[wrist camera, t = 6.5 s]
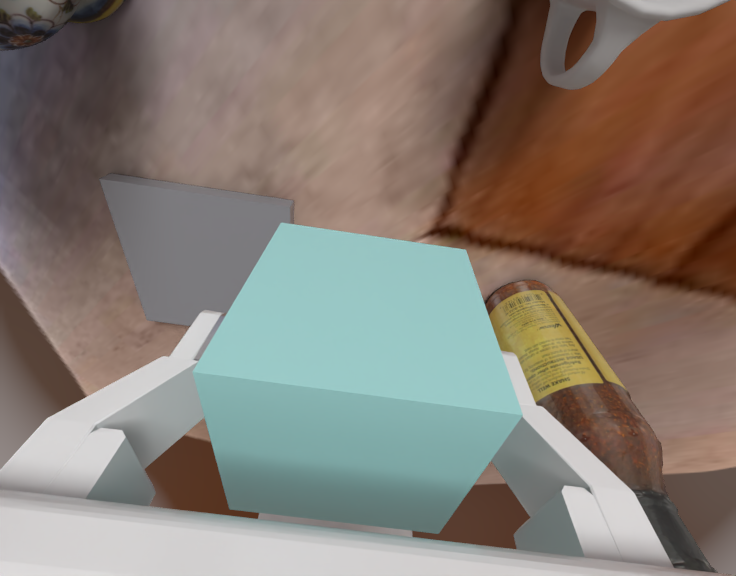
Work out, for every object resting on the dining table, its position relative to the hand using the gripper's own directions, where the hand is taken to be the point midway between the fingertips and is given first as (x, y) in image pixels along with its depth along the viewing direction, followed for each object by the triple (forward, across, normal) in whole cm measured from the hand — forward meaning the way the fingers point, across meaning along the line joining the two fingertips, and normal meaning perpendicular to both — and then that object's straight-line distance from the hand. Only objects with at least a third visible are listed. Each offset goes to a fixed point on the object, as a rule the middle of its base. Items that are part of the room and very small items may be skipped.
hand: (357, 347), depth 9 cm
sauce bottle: (+17, -14, +10) cm, 24 cm away
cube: (+2, 0, 0) cm, 2 cm away
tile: (+17, +12, +10) cm, 23 cm away
